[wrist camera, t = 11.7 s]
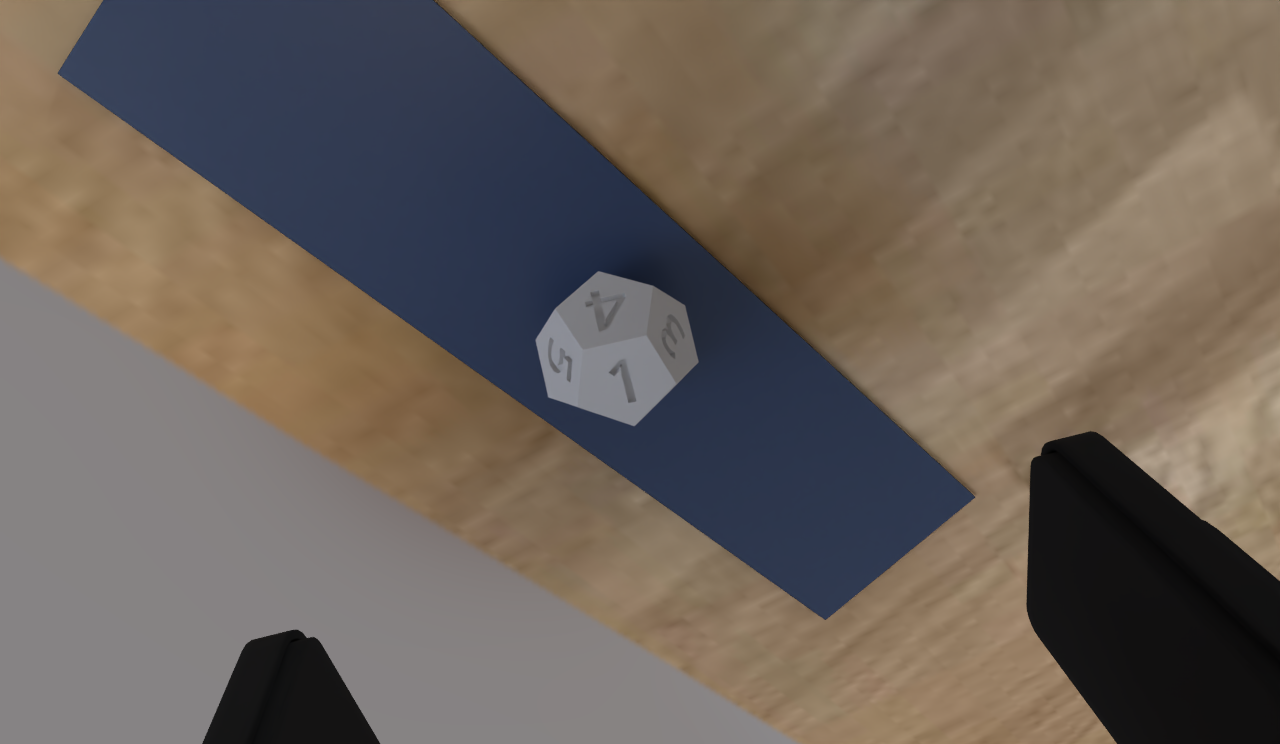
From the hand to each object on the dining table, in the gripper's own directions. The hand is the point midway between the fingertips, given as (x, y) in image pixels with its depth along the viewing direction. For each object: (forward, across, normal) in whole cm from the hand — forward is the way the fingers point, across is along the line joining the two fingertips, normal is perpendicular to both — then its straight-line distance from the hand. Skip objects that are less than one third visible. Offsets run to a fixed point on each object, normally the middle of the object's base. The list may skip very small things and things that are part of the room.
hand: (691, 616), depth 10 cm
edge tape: (+10, 0, 0) cm, 10 cm away
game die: (+10, 0, 0) cm, 10 cm away
